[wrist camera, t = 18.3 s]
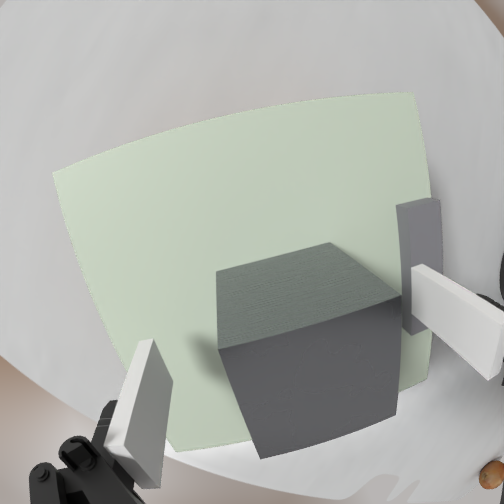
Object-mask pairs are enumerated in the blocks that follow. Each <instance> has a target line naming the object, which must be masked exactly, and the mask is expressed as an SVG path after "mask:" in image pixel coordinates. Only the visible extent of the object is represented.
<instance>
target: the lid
mask: <svg viewBox="0 0 504 504" xmlns="http://www.w3.org/2000/svg"><path fill="white" fill-rule="evenodd" d="M52 175H53V179H54V183H55V187H56V191H57V195H58V199H59V202H60V206H61V210H62V213H63V217H64V220H65V223H66V227H67V230H68V233H69V236H70V239H71V242H72V245H73V248H74V251H75V254H76V257H77V260H78V263H79V265H80V268H81V271H82V274H83V276H84V279H85V281H86V284H87V287H88V289H89V292H90V294H91V296H92V299H93V301H94V304H95V306H96V308H97V311H98V313H99V315H100V318H101V320H102V322H103V324H104V327H105V329H106V331H107V333H108V335H109V337H110V339H111V341H112V344H113V346H114V348H115V350H116V352H117V354H118V356H119V358H120V360H121V362H122V364H123V365H124V367H125V369H126V371H127V373H128V370H129V367H130V364H131V362H132V359H133V356H134V354H135V351H136V348H137V346H138V343H139V341H142V340H147V339H152V338H154V340H155V343H156V345H157V347H158V349H159V352H160V354H161V356H162V358H163V360H164V363H165V365H166V367H167V369H168V371H169V373H170V375H171V377H172V380H173V388H172V395H171V402H170V409H169V416H168V424H167V432H166V438H167V440H168V441H169V443H170V444H171V446H172V447H173V449H174V450H175V452H183V451H191V450H198V449H205V448H212V447H218V446H224V445H229V444H235V443H240V442H245V441H250V440H252V438H251V436H250V433H249V431H248V428H247V426H246V423H245V421H244V418H243V416H242V413H241V411H240V408H239V406H238V403H237V400H236V398H235V395H234V393H233V390H232V387H231V385H230V382H229V379H228V377H227V374H226V371H225V368H224V366H223V363H222V360H221V357H220V354H219V352H218V342H217V306H216V271H219V270H223V269H227V268H231V267H235V266H239V265H243V264H247V263H251V262H255V261H259V260H262V259H266V258H270V257H274V256H278V255H282V254H286V253H289V252H293V251H297V250H301V249H305V248H309V247H312V246H316V245H320V244H324V243H328V242H330V243H332V244H333V245H335V246H336V247H337V248H339V249H340V250H342V251H343V252H344V253H346V254H347V255H349V256H350V257H351V258H353V259H354V260H355V261H357V262H358V263H359V264H361V265H362V266H364V267H365V268H366V269H368V270H369V271H370V272H372V273H373V274H374V275H376V276H377V277H378V278H380V279H381V280H382V281H384V282H385V283H386V284H388V285H389V286H390V287H392V288H393V289H394V290H396V291H397V292H398V293H400V294H401V295H402V335H401V361H400V376H399V389H398V392H401V391H403V390H405V389H407V388H409V387H412V386H414V385H416V384H418V383H420V382H422V381H424V380H426V379H427V375H428V368H429V360H430V351H431V341H432V331H431V330H430V329H429V328H428V327H427V326H426V325H424V324H423V323H422V322H421V321H420V320H418V319H417V318H416V317H415V316H414V315H413V314H412V284H411V268H412V267H414V266H417V265H420V264H424V265H426V266H427V267H429V268H431V269H433V270H435V271H436V272H438V273H440V274H442V275H443V248H442V222H441V207H440V200H437V199H433V198H431V190H430V181H429V173H428V166H427V159H426V152H425V146H424V140H423V135H422V129H421V124H420V119H419V115H418V110H417V106H416V101H415V97H414V93H413V92H399V93H377V94H363V95H351V96H340V97H331V98H322V99H315V100H307V101H300V102H293V103H287V104H281V105H275V106H269V107H264V108H259V109H254V110H249V111H244V112H239V113H234V114H230V115H225V116H221V117H217V118H213V119H209V120H205V121H201V122H197V123H193V124H189V125H186V126H182V127H178V128H175V129H171V130H168V131H165V132H161V133H158V134H155V135H151V136H148V137H145V138H142V139H139V140H136V141H133V142H130V143H127V144H124V145H121V146H119V147H116V148H113V149H110V150H107V151H105V152H102V153H99V154H97V155H94V156H92V157H89V158H87V159H84V160H82V161H79V162H77V163H74V164H72V165H70V166H67V167H65V168H63V169H60V170H58V171H56V172H53V173H52Z"/></svg>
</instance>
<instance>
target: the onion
mask: <svg viewBox="0 0 504 504" xmlns="http://www.w3.org/2000/svg"><path fill="white" fill-rule="evenodd" d="M503 480H504V463H502V462H500V461H492V462H490V463H488V464H487V465H486V466H485V467H484V468H483V469H482V471H481V473H480V476H479V483H480V484H481V486H482V487H483V488H485V489H494V488H497V487H498V486H499V485H500V484H501V483H502V482H503Z"/></svg>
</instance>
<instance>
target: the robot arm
mask: <svg viewBox="0 0 504 504" xmlns="http://www.w3.org/2000/svg"><path fill="white" fill-rule="evenodd" d="M411 284H412V314H413V315H414V316H415V317H416V318H417V319H418V320H420V321H421V322H422V323H423V324H424V325H426V326H427V327H428V328H429V329H430V330H431V331H433V332H434V333H435V334H436V335H437V336H438V337H439V338H441V339H442V340H443V341H444V342H445V343H446V344H447V345H449V346H450V347H451V348H452V349H453V350H454V351H455V352H457V353H458V354H459V355H460V356H461V357H462V358H463V359H464V360H465V361H467V362H468V363H469V364H470V365H471V366H472V367H473V368H474V369H475V370H476V371H478V372H479V373H480V374H481V375H482V376H483V377H484V378H485V379H486V380H487V381H489V380H490V379H492V378H493V377H494V376H496V375H497V374H499V373H500V370H501V366H502V363H503V362H504V306H502V305H500V304H499V303H497V302H494V300H492V299H491V298H489V297H487V296H484V295H481V294H474V293H473V292H471V291H469V290H468V289H466V288H464V287H462V286H461V285H459V284H457V283H456V282H454V281H452V280H450V279H449V278H447V277H445V276H443V275H442V274H440V273H438V272H436V271H435V270H433V269H431V268H429V267H427V266H426V265H424V264H420V265H417V266H414V267H412V268H411ZM500 289H501V294H502V297H503V299H504V255H503V259H502V264H501V272H500ZM502 386H504V378H503V381H502ZM172 388H173V380H172V377H171V375H170V373H169V371H168V369H167V367H166V365H165V363H164V360H163V358H162V356H161V354H160V352H159V349H158V347H157V345H156V343H155V340H154V338H152V339H147V340H142V341H139V343H138V346H137V348H136V351H135V354H134V356H133V359H132V362H131V364H130V367H129V370H128V373H127V376H126V378H125V381H124V384H123V387H122V390H121V393H120V396H119V399H118V400H113V401H109V403H108V404H107V405H106V406H105V407H104V409H103V410H102V413H101V416H100V420H99V421H98V424H97V427H96V430H95V433H94V436H93V438H92V441H91V442H90V441H89V440H88V439H87V438H86V437H83V436H74V437H72V438H69V439H68V440H66V441H65V442H64V443H63V444H62V445H61V447H60V449H59V458H60V459H61V460H62V461H63V462H64V463H65V465H67V467H68V468H64V469H59V470H57V469H56V468H55V467H54V466H53V465H52V464H51V463H47V462H45V463H40V464H38V465H36V466H35V467H34V468H33V469H32V471H31V473H30V476H29V488H30V502H31V504H145V502H144V501H143V500H142V499H141V497H140V496H139V495H138V494H137V493H136V492H135V491H134V490H133V487H134V481H135V482H136V483H137V484H138V485H139V486H140V487H141V488H142V489H153V488H154V489H155V488H160V486H161V476H162V466H163V457H164V448H165V440H166V432H167V424H168V416H169V409H170V402H171V395H172ZM500 504H504V482H503V489H502V496H501V501H500Z"/></svg>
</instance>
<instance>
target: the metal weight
mask: <svg viewBox="0 0 504 504" xmlns="http://www.w3.org/2000/svg"><path fill="white" fill-rule="evenodd" d="M216 306H217V342H218V352H219V354H220V357H221V360H222V363H223V366H224V368H225V371H226V374H227V377H228V379H229V382H230V385H231V387H232V390H233V393H234V395H235V398H236V400H237V403H238V406H239V408H240V411H241V413H242V416H243V418H244V421H245V423H246V426H247V428H248V431H249V433H250V436H251V438H252V441H253V443H254V445H255V448H256V450H257V452H258V455H259V457H260V459H263V458H268V457H272V456H276V455H280V454H284V453H288V452H292V451H296V450H299V449H303V448H307V447H310V446H313V445H317V444H320V443H323V442H326V441H329V440H332V439H335V438H338V437H341V436H344V435H347V434H350V433H352V432H355V431H358V430H360V429H363V428H366V427H368V426H371V425H373V424H376V423H378V422H381V421H383V420H385V419H388V418H390V417H392V416H394V415H396V409H397V400H398V389H399V376H400V361H401V335H402V295H401V294H400V293H398V292H397V291H396V290H394V289H393V288H392V287H390V286H389V285H388V284H386V283H385V282H384V281H382V280H381V279H380V278H378V277H377V276H376V275H374V274H373V273H372V272H370V271H369V270H368V269H366V268H365V267H364V266H362V265H361V264H359V263H358V262H357V261H355V260H354V259H353V258H351V257H350V256H349V255H347V254H346V253H344V252H343V251H342V250H340V249H339V248H337V247H336V246H335V245H333V244H332V243H330V242H328V243H324V244H320V245H316V246H312V247H309V248H305V249H301V250H297V251H293V252H289V253H286V254H282V255H278V256H274V257H270V258H266V259H262V260H259V261H255V262H251V263H247V264H243V265H239V266H235V267H231V268H227V269H223V270H219V271H216Z"/></svg>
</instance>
